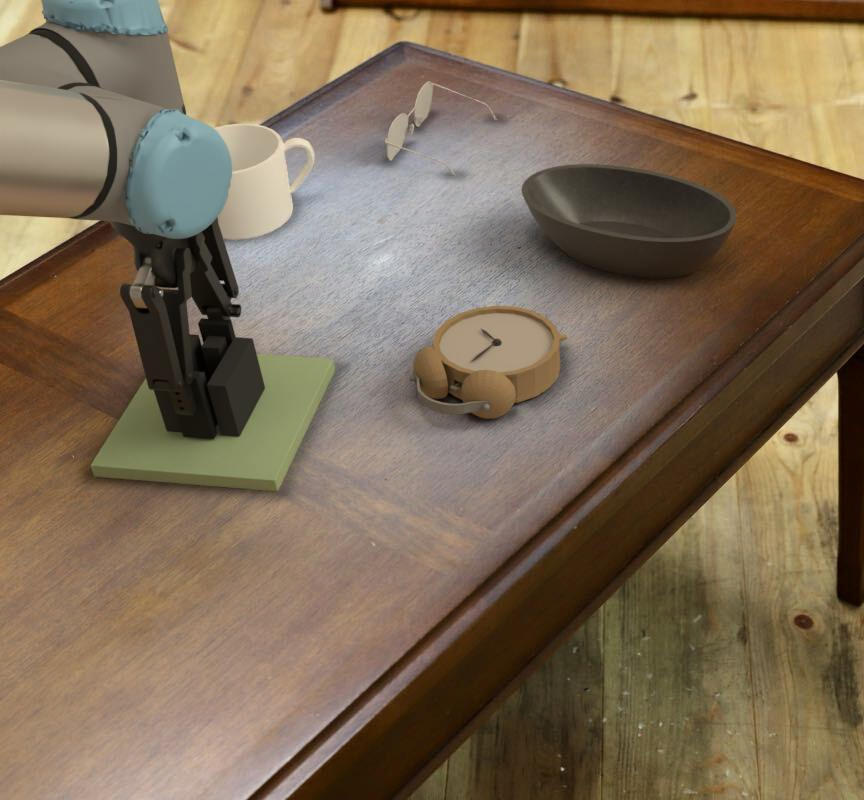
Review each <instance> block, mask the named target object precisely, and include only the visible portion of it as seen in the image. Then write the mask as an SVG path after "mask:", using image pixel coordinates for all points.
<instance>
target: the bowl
mask: <svg viewBox="0 0 864 800" xmlns="http://www.w3.org/2000/svg"><path fill="white" fill-rule="evenodd" d="M521 194H522V197H523V199H524V202H525V204H526V206H527V207H528V210H529V211H530V214H531V215H532V217H533V218H534V220H535V221H536V223H537V224H538V225H539V227H540V228H541V230H542V231H543V232H544V233H545V234H546V236H547V237H548V238H549V239H550V240H551V242H553V243H554V244H555V245H556V246H557V247H559V248H560V249H561V250H562V251H563V252H564V253H565V254H567V256H568V257H570V258H572V259H574V260H576V261H578V262H579V263H581V264H584V265H586V266H589V267H592V268H594V269H598V270H601V271H604V272H608V273H613V274H616V275H622V276H627V277H633V278H643V279H674V278H680V277H681V278H682V277H685V276H688V275H691V274H692V273H695V271H697V270H699V269H700V268H702V267H703V266H705V265H706V264H707V263H708V262H710V261H711V260H712V259H713V258H714V257H715V256H716V255H717V254H718V253H719V251H720V250H721V249H722V247H723V246H724V245H725V244H726V242H727V240H729V239H728V238H729V237H730V235H731V233H732V231H733V228H734V227H735V225H736V222H737V219H738V213H737V210H736V208H735V207H734V205H733V204H732V203H731V202H730V201H729V200H728V199H727V198H725V197H724V196H722V195H721V194H719V193H718V192H716V191H714V190H712V189H710V188H708V187H706V186H703V185H701V184H698V183H695V182H693V181H690V180H688V179H684V178H680V177H678V176H673V175H669V174H665V173H662V172H657V171H653V170H647V169H643V168H642V169H641V168H636V167H629V166H622V165H614V164H613V165H612V164H599V163H598V164H597V163H591V164H590V163H577V164H576V163H575V164H565V165H558V166H553V167H548V168H545V169H541V170H539V171H536V172H535V173H533V174H531V175H530V176H528V177H527V178H526V179H525V181H523V183H522V185H521Z"/></svg>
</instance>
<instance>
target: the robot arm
mask: <svg viewBox="0 0 864 800" xmlns="http://www.w3.org/2000/svg"><path fill="white" fill-rule="evenodd" d="M40 2H41V6H42V11H41V14H42V16H43V19H44V20H45V22H44V23H43V24H41V25H39V26H37V27H35V28H33V29H32V30H30V31H29V32H28V33H27V34H25V35H23V36H21V37H19V38H16V39H14V40H12V41H10V42H7V43H6V44H3V45H1V46H0V216H13V217H16V216H17V217H35V218H55V219H56V218H57V219H72V220H78V221H80V220H81V221H97V222H109V223H110V225H111V228H112V229H113V230H114V231H115V232H116V233H117V234H118V235H120V237H122V238H124V239H125V240H126V241H128V242H129V243H130V244H131V245H132V247H133V256H134V257H133V258H134V268H135V269H136V271H137V274H136V276H135V278H134V281H133V283H122V284H121V286H120V289H119V295H120V299H122V301H123V303H124V305H125V307H126V309H127V311H128V312H129V317H130V321H131V325H132V328H133V332H134V336H135V340H136V344H137V348H138V352H139V356H140V361H141V364H142V368H143V372H144V375H145V379H146V380H147V384H148V387H149V389H150V390H160V391H169V394H170V397H171V400H172V403H173V405H174V406H173V407H174V410H175V412H176V414H177V418H178V421H179V424H180V427H181V431H182V434H183V437H192V438H205V439H214V438H215V436H216V435H217V431H216V427H215V424H214V420H213V417H212V413H211V410H210V406H209V403H208V399H207V396H206V392H205V389H204V385H203V382H202V378H201V375H200V373H193V364H192V354H191V343H190V323H189V315H188V305H187V301H188V300H190V299H191V298H192V300H193V302H194V304H195V305H196V307H197V309H198V311H199V312H200V314H201V316H206V317H207V318H204V317H201V318H200V319H199V321H198V322H197V326H198V329H199V332H200V336H201V340H202V344H203V343H204V341H205V340H206V338H207V336H222V337H225V338H226V342H227V345H228V348H229V346H230V344H231V343H232V341H233V339H234V337H237V336H236V333H235V330H234V329H235V328H234V325H233V321H232V319H231V318H240V317H241V315H242V305H241V304H237V303H232V299H237V298H238V296H239V295H240V294H239V293H240V290H239V286H238V282H237V279H236V276H235V272H234V269H233V265H232V262H231V260H230V257H229V253H228V251H227V250H228V249H227V247H226V243H225V239H223V237H222V233H221V230H220V227H219V224H218V215H219V214H220V212H221V211H222V209H223V207H224V205H225V203H226V201H227V198H228V195H229V194H228V190H229V188H230V186H231V185H230V181H231V178H232V162H231V156H230V153H229V150H228V147H227V145H226V143H225V142H224V140H223V138H222V137H221V136H220V135H219V133H218V132H217V131H216V130H215V129H214V128H215V127H212V125H210V124H207V123H206V122H204V121H201V120H198V119H197V118H194V117H192V116H189V115H187V109H186V105H185V102H184V97H183V93H182V89H181V85H180V80H179V76H178V72H177V68H176V64H175V59H174V54H173V51H172V47H171V42H170V37H169V33H168V31H169V27H168V24H167V23H166V22H165V19H164V16H163V13H162V10H161V9H162V8H161V7H160V2H159V0H41V1H40ZM222 282H224V283H222Z"/></svg>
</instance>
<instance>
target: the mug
mask: <svg viewBox="0 0 864 800" xmlns="http://www.w3.org/2000/svg"><path fill="white" fill-rule="evenodd" d="M213 128H214V129H215V130H216V131H217V132H218V133H219V135H220V136H221V137H222V138H223V140H224V142H225V143H226V145H227V147H228V150H229V153H230V156H231V162H232V178H231V181H230V185H231V186H230V188H229V190H228V194H229V195H228V198H227V201H226V203H225V205H224V207H223V209H222V211H221V212H220V214H219V215H218V224H219V227H220V230H221V233H222V237H223V240H230V241H238V240H248V239H254V238H257V237H261V236H264V235H266V234H269V233H272V232H273V231H275V230H277V229H279V228H280V227H282V226H283V225H284V224H285V223H287V222H288V221H289V219H290V218H291V216H292V214H293V212H294V211H293V210H294V203H293V199H292V198H293V197H292V194H293V193H295V192H297V190H298V189H299V188H300V187H301V185H302V183H303V182H304V181H305V180H306V178H307V177H308V176H309V174H310V173H311V171H312V170H313V168H314V165H315V160H316V159H315V158H316V156H315V151H314V148H313V146H312V144H311V143H310V142H309V141H308V140H307V139H305V138H302V137H292V138H290V139H287V140H285V142H284V141H283V139H282V136H281V135H280V134H279V133H277V131H275V130H274V129H272V128H270V127H268V126H266V125H261V124H256V123H232V124H225V125H220V126H215V127H213ZM293 148H302V149H304V151H305V153H306V158H307V159H306V163H305V165H304V166H303V168H302V169H301V170H300V172H298V174H297V176H296V177H295V178H294V179H293V181H292V182H291V183H290V178H289V173H288V166H287V158H286V152H287V151H289V150H291V149H293Z"/></svg>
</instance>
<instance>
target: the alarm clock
mask: <svg viewBox="0 0 864 800" xmlns="http://www.w3.org/2000/svg"><path fill="white" fill-rule="evenodd" d="M567 339H568V335H567V334H559V331H558V328H557V326H556V325H555V324H554V323H552V321H551V320H549V318H547V317H546V316H544V315H542V314H540V313H538V312H536V311H534V310H530V309H526V308H522V307H519V306H508V305H489V306H482V307H475V308H472V309H469V310H468V309H467V310H466V311H462V312H460V313H457V314H456V315H454V316H452V317H450V318H448V319H447V320H445V321H444V322H443V323H442V324H441V325H440V326H439V327H438V328H437V329H436V330H435V333H434V336H433V339H432V346H430V345H428V346H425V347H423V348H422V349H420V350H419V351H418V352H417V353H416V354H415V356H414V359H413V363H412V374H411V375H410V376H409V381H410V382H415V385H416V391H417V392H416V393H417V398H418V401H419V402H420V403H421V404H422V405H423V406H425V408H428V409H430V410H431V411H434V412H436V413H440V414H446V415H463V414H468V413H469V414H472V415H474V416H477V417H478V418H480V419H486V420H492V419H498V418H500V417H503V416H504V415H506V414H507V413H508V412H510V410H511V409H512V407H513V405H514V404H517V403H521V402H524V401H527V400H529V399H533V398H536V397H538V396H539V395H540V394H542V393H544V392H545V391H547V390H549V389H550V388H551V387H552V386H553V385H554V383H555V382H556V380H557V379H558V378H559V375H560V369H561V355H560V353H561V350H560V347H561V346H560V343H561V342H562V341H563V342H564V341H565V340H567ZM448 394H450V395H452V396H453V397H456V398H457V399H459V400H462V403H448V402H443V401H438V400H442V399H445V398H446V397H447V396H448Z"/></svg>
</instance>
